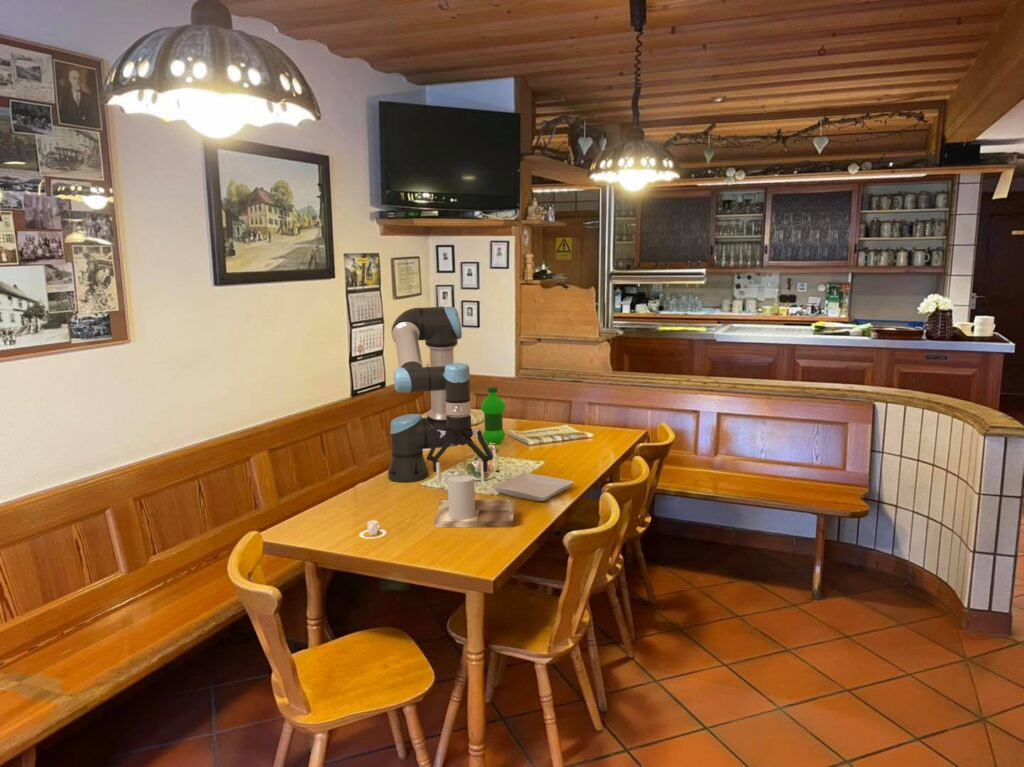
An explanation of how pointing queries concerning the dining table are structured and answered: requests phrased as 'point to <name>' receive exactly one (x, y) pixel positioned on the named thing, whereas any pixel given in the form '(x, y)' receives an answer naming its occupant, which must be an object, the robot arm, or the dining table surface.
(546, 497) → the salad plate
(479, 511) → the rail board
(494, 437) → the plastic bottle
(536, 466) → the dining table surface
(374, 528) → the white looped ring
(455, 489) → the beige cylinder
